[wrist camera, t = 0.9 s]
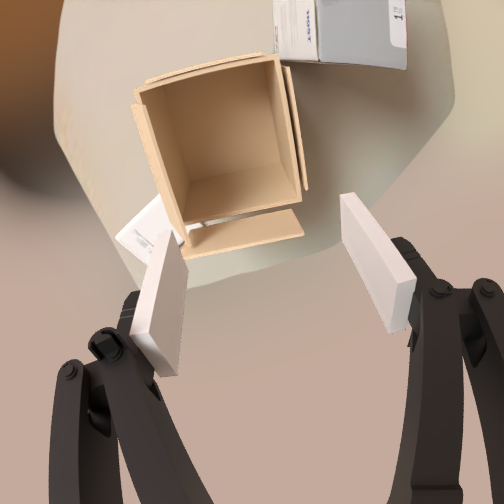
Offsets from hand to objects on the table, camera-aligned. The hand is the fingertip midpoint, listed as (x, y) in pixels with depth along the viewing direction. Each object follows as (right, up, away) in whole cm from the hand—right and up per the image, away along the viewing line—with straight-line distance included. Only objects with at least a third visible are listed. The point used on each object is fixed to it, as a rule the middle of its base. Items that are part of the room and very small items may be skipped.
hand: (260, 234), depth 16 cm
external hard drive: (-15, +3, +33) cm, 37 cm away
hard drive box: (+6, +30, +15) cm, 34 cm away
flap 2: (-2, +1, +15) cm, 15 cm away
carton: (-4, +16, +24) cm, 29 cm away
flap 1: (-9, +6, +11) cm, 16 cm away
